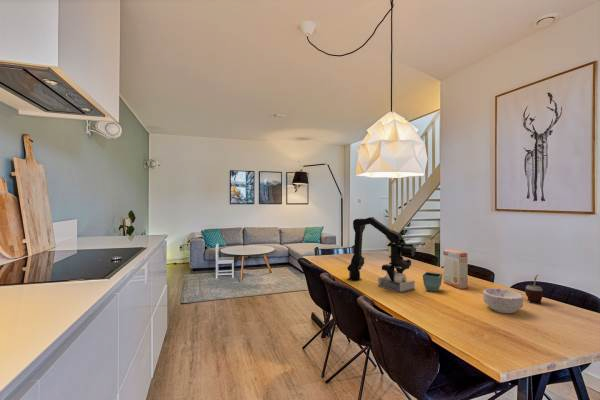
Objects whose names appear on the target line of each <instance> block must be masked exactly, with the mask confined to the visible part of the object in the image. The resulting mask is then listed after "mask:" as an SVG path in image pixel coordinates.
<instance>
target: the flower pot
mask: <svg viewBox="0 0 600 400" xmlns="http://www.w3.org/2000/svg"><path fill="white" fill-rule="evenodd" d="M442 281H443V273H435V272H429V271H425V272H424V273H423V274H422V282H423V285H424V287H425V289H426V291H430V292H438V291H439V289H440V288H441V285H442Z"/></svg>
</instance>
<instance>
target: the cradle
mask: <svg viewBox="0 0 600 400" xmlns="http://www.w3.org/2000/svg"><path fill="white" fill-rule="evenodd" d="M377 279H378V280H377V283H378V284H377V285H378V287H380V288H383V289H387V290H390V291H393V292H397V293H400V294H403V293H406V292H409V291H414V290H415V288H416V287H415V285H416V284H415V280H414V279H412V280H409V281H406V282H404V283H400V284H398V283H394V282H391V281H387V279H386V275H385V276H381V277H378V278H377Z"/></svg>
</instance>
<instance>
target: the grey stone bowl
mask: <svg viewBox="0 0 600 400" xmlns="http://www.w3.org/2000/svg"><path fill="white" fill-rule="evenodd" d="M482 294H483V296H482V297H483V298H482V300H483V302H484V303H485V304H486V305H488V307H489V309H491V310H493V311H495V312H498V313H504V314H513V313H516V312H518V310H519V309H522V308H523V307H524V303H523V302H524V301H523V300H524V296H523V295H522V294H521V293H519V292H517V291H514V290H513V291H512V290H509V289H504V288H496V287H495V288H493V287H492V288H485V289H483V292H482Z"/></svg>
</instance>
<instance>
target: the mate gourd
mask: <svg viewBox="0 0 600 400" xmlns="http://www.w3.org/2000/svg"><path fill="white" fill-rule="evenodd" d="M538 276H539V274H536V275H535V277H534V279H533V280H534V281H533V284H527V285H526V287H525V289H524V291H525V292H524V293H525V295H526V297H527V301H528V302H529V304H538V305H542V303H541V302H542V300H543V296H544V289H543V288H542V287H541V286H539V285H536V282H537V277H538Z"/></svg>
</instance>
